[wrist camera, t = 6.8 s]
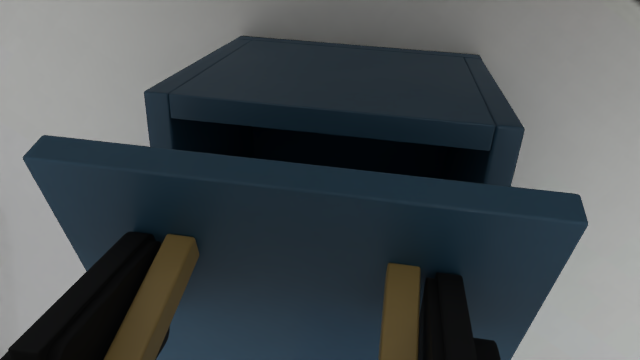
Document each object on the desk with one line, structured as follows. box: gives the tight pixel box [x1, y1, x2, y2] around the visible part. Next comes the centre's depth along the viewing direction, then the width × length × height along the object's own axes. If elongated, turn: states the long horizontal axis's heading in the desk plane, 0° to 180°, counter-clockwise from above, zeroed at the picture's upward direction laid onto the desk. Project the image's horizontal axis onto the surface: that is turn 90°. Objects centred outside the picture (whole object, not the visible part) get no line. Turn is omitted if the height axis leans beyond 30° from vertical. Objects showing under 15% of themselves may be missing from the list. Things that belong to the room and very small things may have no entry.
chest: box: [144, 36, 525, 187], centre depth 22 cm, size 14×11×10 cm
